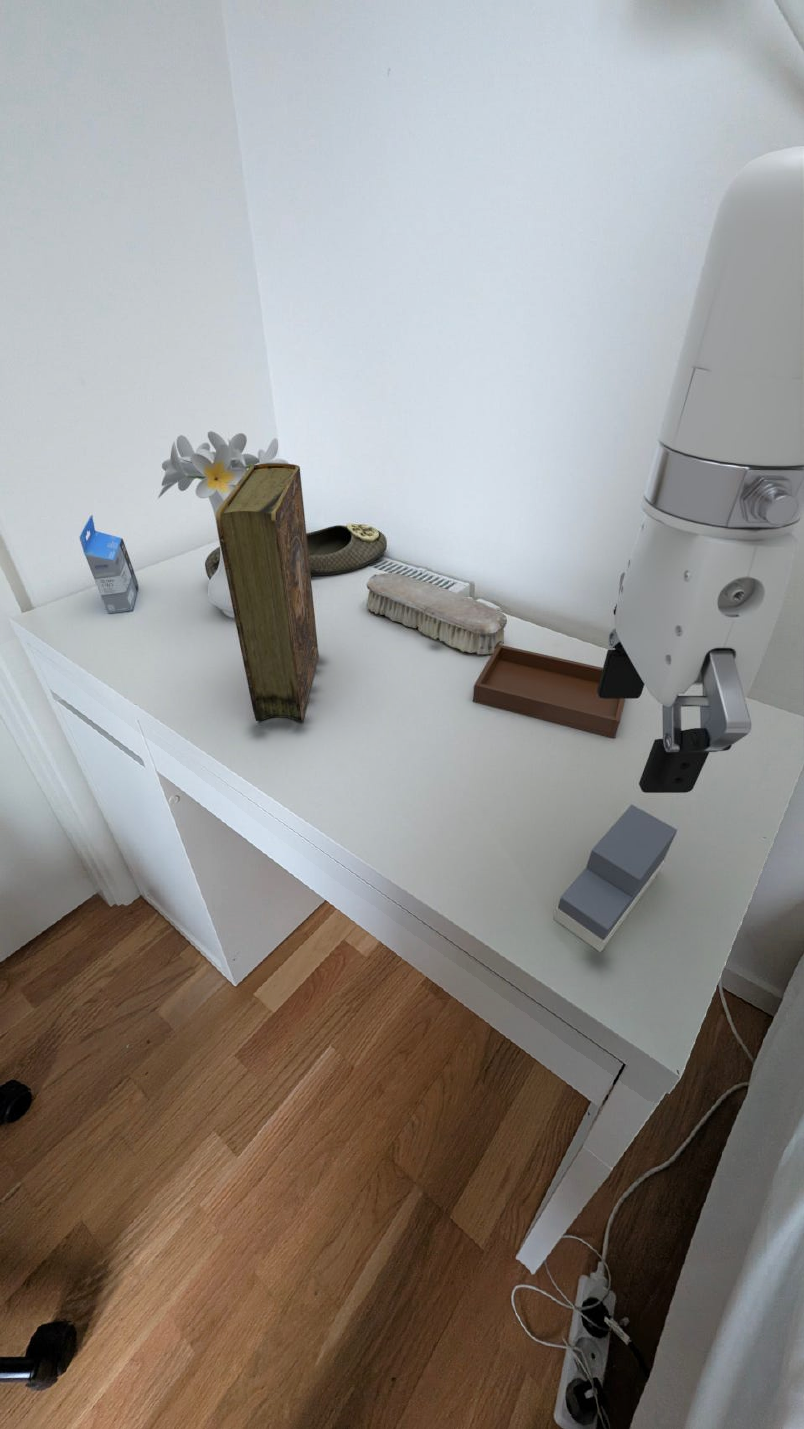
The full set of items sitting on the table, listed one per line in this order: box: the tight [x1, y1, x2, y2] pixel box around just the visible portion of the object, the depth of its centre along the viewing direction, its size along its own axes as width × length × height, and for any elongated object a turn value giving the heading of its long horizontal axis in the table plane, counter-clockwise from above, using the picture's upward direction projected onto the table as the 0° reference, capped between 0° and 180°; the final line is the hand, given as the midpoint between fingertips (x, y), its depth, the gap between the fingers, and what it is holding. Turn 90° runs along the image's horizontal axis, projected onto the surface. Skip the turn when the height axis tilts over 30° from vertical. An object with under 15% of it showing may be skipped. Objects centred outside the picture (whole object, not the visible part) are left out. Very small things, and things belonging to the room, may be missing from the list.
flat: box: [204, 522, 388, 580], centre depth 99 cm, size 11×33×8 cm, turn 117°
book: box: [215, 463, 320, 723], centre depth 66 cm, size 16×6×25 cm, turn 179°
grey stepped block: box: [553, 804, 678, 953], centre depth 49 cm, size 11×4×6 cm, turn 136°
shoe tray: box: [472, 644, 626, 739], centre depth 72 cm, size 17×10×3 cm, turn 66°
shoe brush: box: [366, 572, 508, 655], centre depth 85 cm, size 24×8×5 cm, turn 51°
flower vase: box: [157, 430, 290, 619], centre depth 83 cm, size 13×18×25 cm
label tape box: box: [79, 514, 139, 614], centre depth 88 cm, size 9×4×12 cm, turn 13°
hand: (638, 738), depth 40 cm, fingers open, 9 cm apart
